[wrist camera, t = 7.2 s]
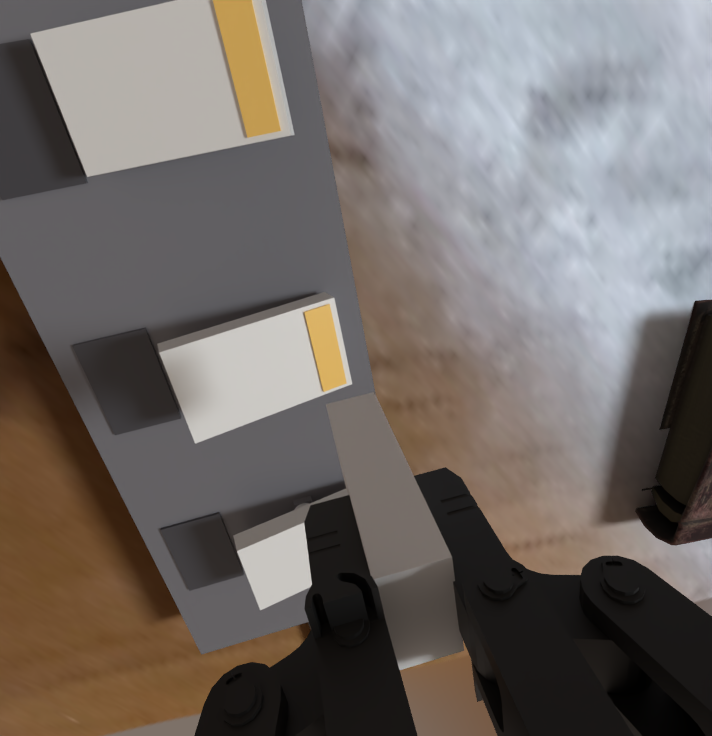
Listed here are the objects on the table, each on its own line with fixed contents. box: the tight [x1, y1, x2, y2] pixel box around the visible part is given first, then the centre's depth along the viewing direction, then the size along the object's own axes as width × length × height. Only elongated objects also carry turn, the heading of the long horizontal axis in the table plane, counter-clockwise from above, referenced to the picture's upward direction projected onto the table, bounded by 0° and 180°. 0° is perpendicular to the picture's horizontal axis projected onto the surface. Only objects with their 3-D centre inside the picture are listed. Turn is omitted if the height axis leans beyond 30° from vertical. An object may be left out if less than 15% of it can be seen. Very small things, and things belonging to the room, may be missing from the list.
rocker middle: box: [157, 292, 352, 444], centre depth 22 cm, size 4×8×2 cm, turn 101°
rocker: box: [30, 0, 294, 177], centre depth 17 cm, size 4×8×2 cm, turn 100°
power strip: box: [0, 0, 376, 654], centre depth 26 cm, size 47×14×4 cm, turn 10°
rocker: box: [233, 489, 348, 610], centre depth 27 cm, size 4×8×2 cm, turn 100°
